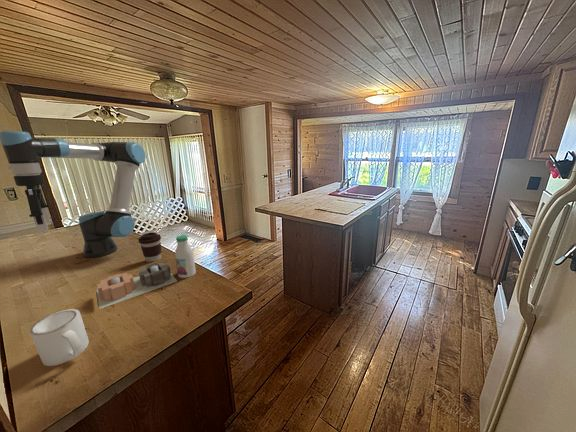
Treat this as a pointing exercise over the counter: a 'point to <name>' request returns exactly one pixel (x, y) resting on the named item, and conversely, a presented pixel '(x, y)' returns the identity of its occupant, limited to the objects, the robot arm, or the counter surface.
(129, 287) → the gear
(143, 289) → the board
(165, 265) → the gear
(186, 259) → the milk bottle
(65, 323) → the mug
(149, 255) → the coffee cup
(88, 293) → the counter surface
